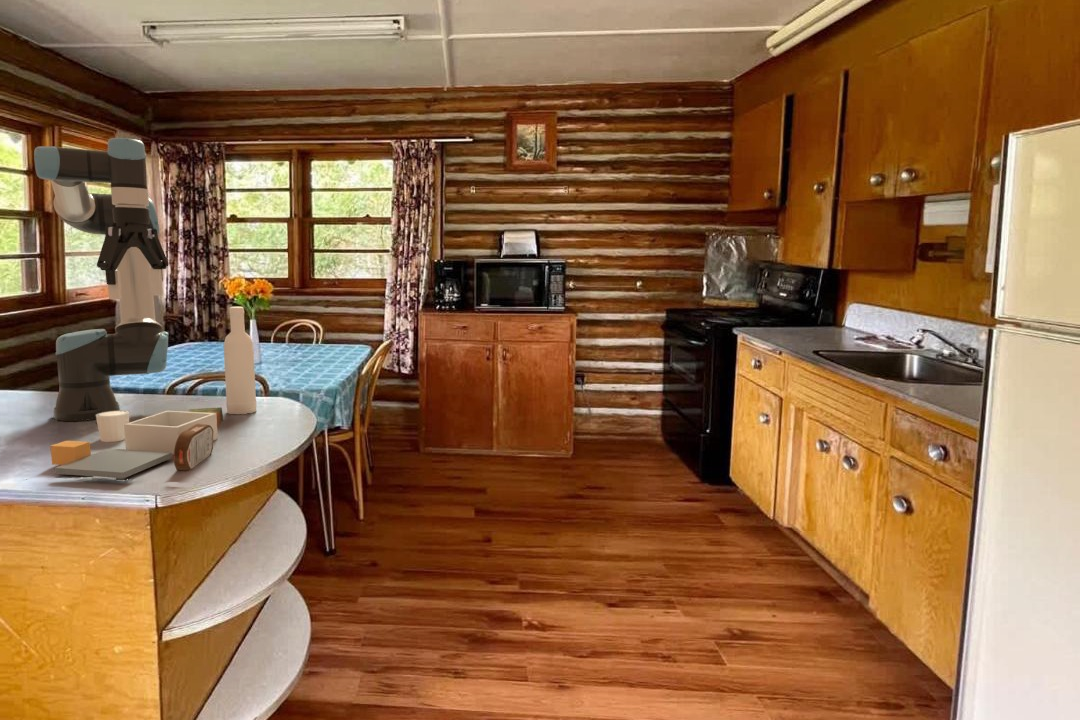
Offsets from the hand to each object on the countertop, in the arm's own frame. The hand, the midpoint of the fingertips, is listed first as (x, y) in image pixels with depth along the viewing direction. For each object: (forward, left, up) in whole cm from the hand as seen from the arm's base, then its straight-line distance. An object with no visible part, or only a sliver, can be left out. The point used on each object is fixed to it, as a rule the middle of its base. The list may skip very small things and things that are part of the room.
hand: (137, 297), depth 165 cm
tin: (+27, -20, -34) cm, 48 cm away
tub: (+14, -9, -34) cm, 38 cm away
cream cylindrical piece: (-3, -7, -34) cm, 35 cm away
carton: (+9, +9, -35) cm, 37 cm away
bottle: (+8, +28, -34) cm, 45 cm away
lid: (+12, -27, -34) cm, 45 cm away
